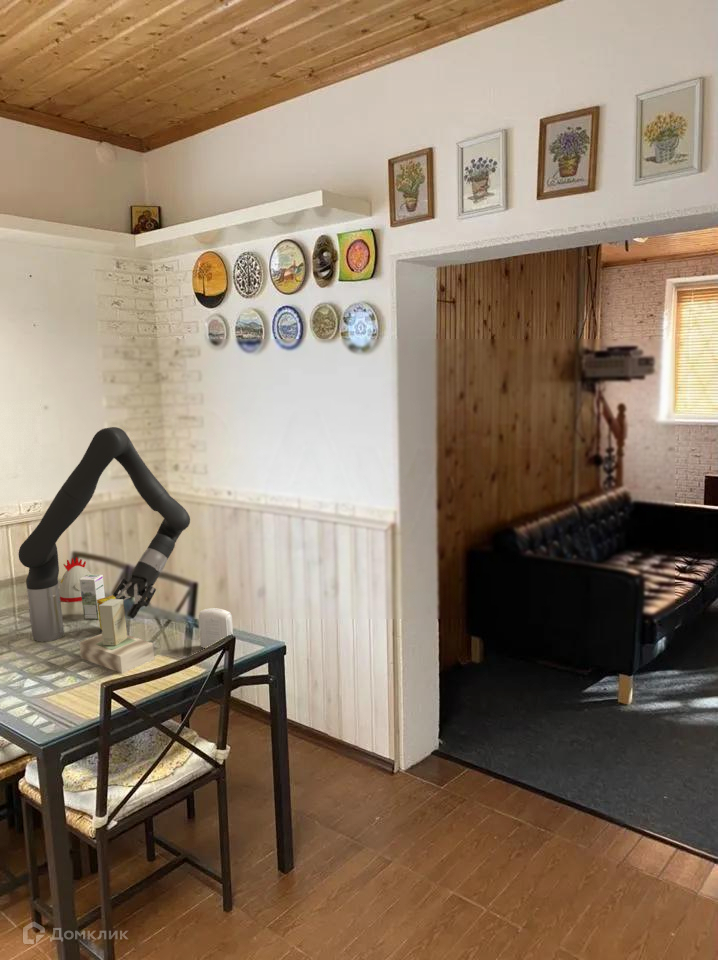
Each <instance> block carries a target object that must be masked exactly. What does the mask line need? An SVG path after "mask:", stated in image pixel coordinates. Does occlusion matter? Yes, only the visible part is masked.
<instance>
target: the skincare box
mask: <svg viewBox="0 0 718 960" xmlns="http://www.w3.org/2000/svg"><path fill="white" fill-rule="evenodd" d="M99 610H100V619H101V628H102V632H101V634H102V636H103V645H112V646H116V645H118V644H119V643H121V642H122V641H124V640H125V639H127V635H128V632H127V623H126V614H125V605H124V601H123V599H110V600H108V601H106V602H104V603H102V604H101V605H99Z"/></svg>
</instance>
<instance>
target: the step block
mask: <svg viewBox="0 0 718 960" xmlns="http://www.w3.org/2000/svg"><path fill="white" fill-rule="evenodd" d="M78 643H79V645H78V646H79V653H80V659H83V660H85V661H87V662H90V663H93V664H96V665H98V666H101V667H103V668H104V667H105V668H107V669H109V670H111V671H115V672H118V673H120V674H123V673H126V672H129V671H131V670H133V669H135V668H137V667H138V668H139V667H140V666H143V665H145V664H146V663H150V662H151V661H153V660H155V654H154V653H155V652H154V643H153V642H151V641H147V640H144V639H141V638H138V637H134V636H131V635H129V634H127V639H125V640H124V641H122V642H121V643H119V644H118V645H116V646H112V645H103V636H102V633H100V634H97V635H95V636H92V637H90V638H87V639H84V640H82V641H79V642H78Z"/></svg>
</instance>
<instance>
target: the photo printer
mask: <svg viewBox="0 0 718 960" xmlns="http://www.w3.org/2000/svg"><path fill="white" fill-rule="evenodd" d="M198 613H199V614H198V626H199V628H198V630H199V642H200V648H201V647H203V648H202V649H204V648H205V647H207V646H209V645H211V644H213V643H215V642H216V641H218V640H220V639H221V638H223V637H225V636H228V635H231V634H233V635H234V633H233V632H234V629H233V616H232V613H231V612H230V611H228V610H225V609H223V608H216V607H215V608H214V607H212V608H211V607H209V608H204V609H202V610H200V611H199V612H198Z"/></svg>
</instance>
